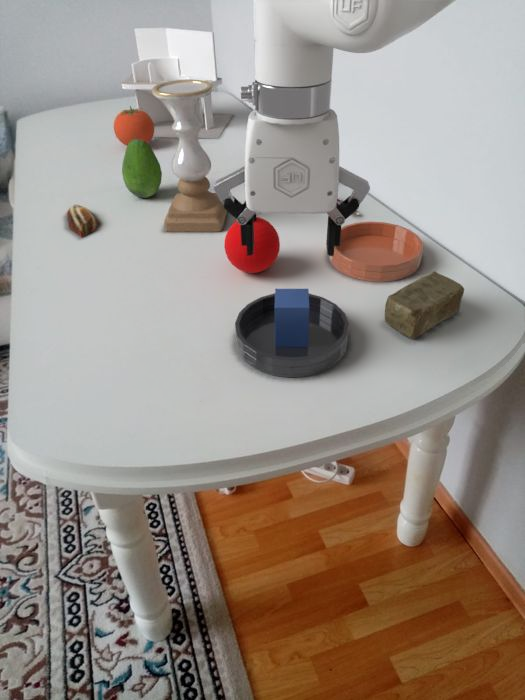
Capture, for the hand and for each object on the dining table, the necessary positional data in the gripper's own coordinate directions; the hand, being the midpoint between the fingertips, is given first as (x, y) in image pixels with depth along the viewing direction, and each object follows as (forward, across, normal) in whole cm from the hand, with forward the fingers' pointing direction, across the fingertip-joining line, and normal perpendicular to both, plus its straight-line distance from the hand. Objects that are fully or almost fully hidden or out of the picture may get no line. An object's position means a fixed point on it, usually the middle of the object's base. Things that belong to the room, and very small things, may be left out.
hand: (290, 250), depth 63 cm
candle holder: (+14, -18, +38) cm, 44 cm away
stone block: (+14, +19, +5) cm, 24 cm away
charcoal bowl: (+14, 0, 0) cm, 14 cm away
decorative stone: (+15, -42, +38) cm, 58 cm away
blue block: (+13, 0, 0) cm, 13 cm away
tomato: (+15, -40, +81) cm, 92 cm away
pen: (+14, +11, +43) cm, 46 cm away
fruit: (+15, -31, +49) cm, 60 cm away
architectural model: (+15, -32, +99) cm, 105 cm away
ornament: (+14, -6, +19) cm, 24 cm away
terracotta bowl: (+14, +15, +22) cm, 30 cm away
